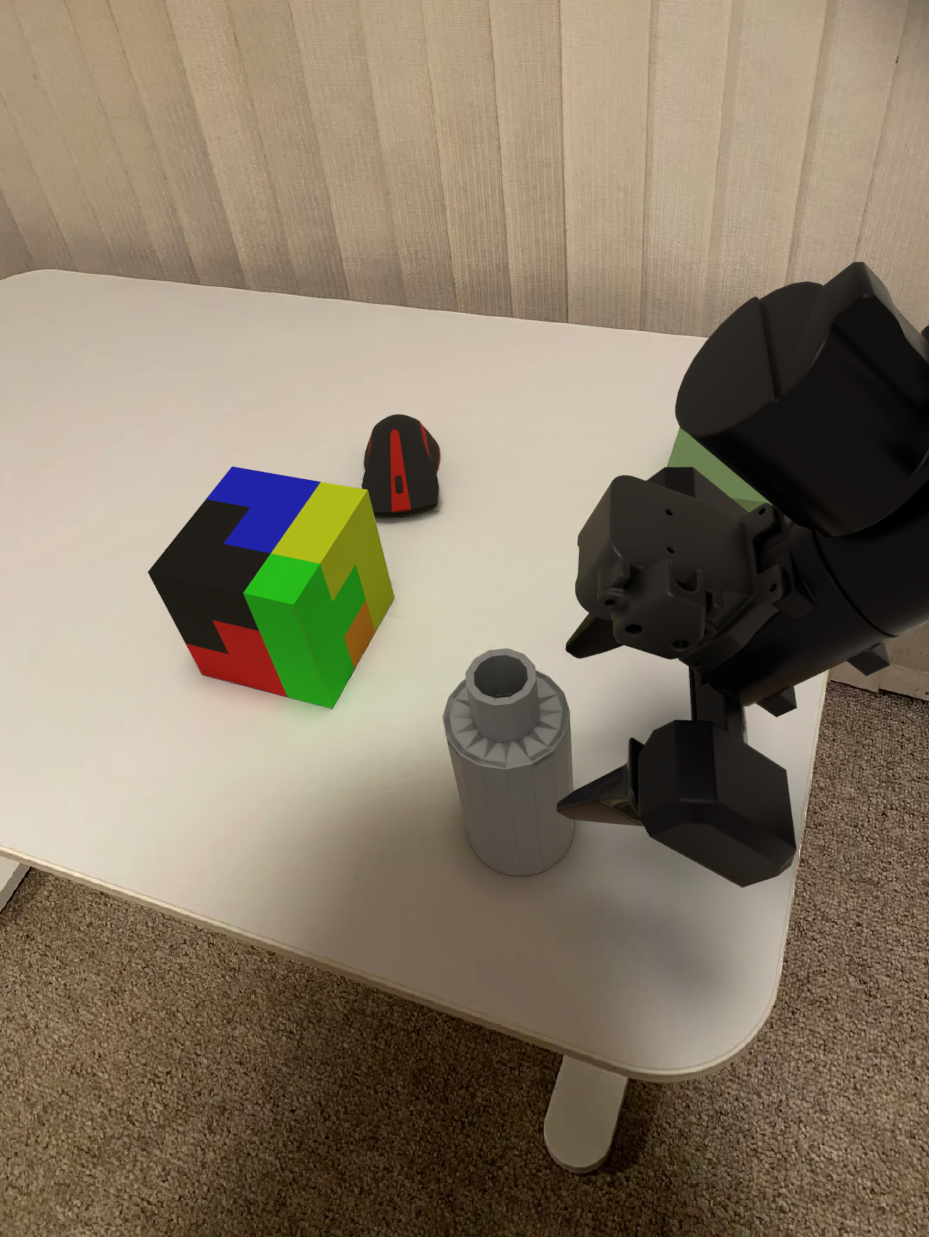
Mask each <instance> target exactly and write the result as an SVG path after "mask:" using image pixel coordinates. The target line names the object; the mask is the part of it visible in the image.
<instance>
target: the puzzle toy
mask: <svg viewBox="0 0 929 1237" xmlns="http://www.w3.org/2000/svg"><path fill="white" fill-rule="evenodd" d="M387 565H388V564H387V561H386V557H385V553H384V549H383V544H382V542H381V537H380V533H379V530H378V525H377V521H376V516H374V513H373V509H372V505H371V501H370V497H369V493H368V490H366V489H362V488H359V487H355V486H348V485H343V484H337V483H331V482H326V481H320V480H314V479H307V478H301V477H296V476H290V475H284V474H280V473H274V472H268V471H261V470H256V469H250V468H244V467H238V466H232V465H231V467H230V468H229V469H228V470H227V471H226V473H225V474H224V475H223V477H222V478H221V479H220V480H219V482H218V483H217V484H216V485H215V487H214V488H213V490H211V492H210V493H209V494H208V495H207V497H206V498H205V499H204V500H203V502H202V503H201V504H200V506H198V508H197V509H196V510H195V512H194V513H193V514H192V516H191V517H190V518H189V520H188V521H187V522H186V523H185V524H184V526H183V527H182V528H181V529H180V530H179V532H178V533H177V534H176V536H175V537H174V538H173V540H172V541H170V543H169V544H168V546H167V547H166V548H165V549H164V551H163V552H161V554H160V556H159V557H158V558H157V559H156V560H155V562H154V563H153V565H151V566H150V568H149V569H148V571H147V574H148V576H149V577H150V579H151V581H152V584H153V586H154V588H155V589H156V591H157V593H158V595H159V597H160V599H161V600H162V602H163V604H164V607H165V608H166V610H167V612H168V614H169V616H170V618H171V619H172V622H173V623H174V625H175V627H176V629H177V631H178V632H179V634H180V636H181V638H182V640H183V642H184V644H185V646H186V648H187V649H188V652H189V653H190V655H191V657H192V659H193V661H194V662H195V665H196V666H197V668H198V670H199V672H200V674H201V676H205V677H209V678H212V679H216V680H219V681H224V682H228V683H232V684H234V685H235V684H236V685H239V686H243V687H247V688H251V689H254V690H259V691H263V692H267V693H270V694H274V695H277V696H282V697H286V698H289V699H293V700H298V701H301V702H304V703H309V704H312V705H315V706H316V705H317V706H320V707H323V708H328V709H332V710H333V709H334V707H335V706H336V703H337V701H338V700H339V698H340V696H341V694H342V692H343V691H344V689H345V687H346V686H347V684H348V682H349V680H350V678H351V677H352V675H353V673H354V672H355V670H356V668H357V666H358V664H359V662H360V660H361V659H362V656H364V653H365V652H366V650H367V648H368V646H369V645H370V643H371V641H372V639H373V637H374V636H375V634H376V632H377V630H378V628H379V626H380V625H381V623H382V621H383V619H384V618H385V615H386V614H387V612H388V610H389V608H390V607H391V605H392V603H393V602H394V600H395V598H396V597H395V593H394V589H393V585H392V581H391V577H390V574H389V570H388V566H387Z"/></svg>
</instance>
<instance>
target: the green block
mask: <svg viewBox="0 0 929 1237" xmlns="http://www.w3.org/2000/svg"><path fill="white" fill-rule="evenodd" d="M674 440H675V441H674V443H673V447H672V449H671V453H670V456H669V459H668V462H667V465H666V467H694V468H695V469H696V470H697V471H699V472H700V473H701V474H702V475H704V476H705V477H706V478H707V479H708V480H710V481H711V482H712V483H713V484H715V485H716V486H717V487H718V488H719V489H721V490H722V491H723V492H724V493H726V494H727V495H728V496H729V497H731V498H732V499H733V500H734V501H735V502H737V503H738V504H739V505H740V506H742V507H743V508H744V509H745V510H746V511H748V512H751V511H752V510H754V509H755V508H757V507H758V506H760V505H762V504H764V503H769V504H770V505H772V504H771V503H770V502H769V501H768V500H766V499H765V498H764V497H763V496H762V495H760V494H759V493H758V492H757V491H756V490H754V489H753V488H752V487H751V486H750V485H748V484H747V483H746V482H745V481H744V480H742V479H741V478H740V477H739V476H738V475H736V474H735V473H734V472H733V471H732V470H730V469H729V468H728V467H727V466H726V465H724V464H723V463H722V462H721V461H720V460H718V459H717V458H716V457H715V456H714V455H712V454H711V453H710V452H709V451H708V450H706V449H705V448H704V447H703V446H702V445H700V444H699V443H698V442H697V441H696V440H694V439H693V438H692V437H691V436H690V435H688V434H687V433H686V432H685V431H684V430H682V429H681V428H680V427H679V428H678V431H677V434H676V437H675V439H674Z"/></svg>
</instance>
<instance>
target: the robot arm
mask: <svg viewBox="0 0 929 1237" xmlns="http://www.w3.org/2000/svg"><path fill="white" fill-rule="evenodd" d="M681 380H682V381H681V383H680V385H679V388H678V390H677V394H676V395H677V396H676V400H675V405H674V414H675V415H674V416H675V419H676V421H677V424H678V426H679V428H681V429H682V430H684V431H685V432H686V433H687V434H688V435H690V436H691V437H692V438H693V439H694V440H696V441H697V442H698V443H699V444H700V445H702V446H703V447H704V448H705V449H706V450H708V451H709V452H710V453H711V454H712V455H714V456H715V457H716V458H717V459H718V460H720V461H721V462H722V463H723V464H724V465H726V466H727V467H728V468H729V469H730V470H732V471H733V472H734V473H735V474H736V475H738V476H739V477H740V478H741V479H742V480H744V481H745V482H746V483H747V484H748V485H750V486H751V487H752V488H753V489H754V490H756V491H757V492H758V493H759V494H760V495H762V496H763V497H764V498H765V499H766V500H768V501H769V502H770V503H771V504H772V505H770V504H769V503H764V504H762V505H760V506H758V507H757V508H755V509H754V510H752V511H751V512H748V511H746V510H745V509H744V508H743V507H742V506H740V505H739V504H738V503H737V502H735V501H734V500H733V499H732V498H731V497H729V496H728V495H727V494H726V493H724V492H723V491H722V490H721V489H719V488H718V487H717V486H716V485H715V484H713V483H712V482H711V481H710V480H708V479H707V478H706V477H705V476H704V475H702V474H701V473H700V472H699V471H697V470H696V469H695V468H694V467H667V466H664V467H663V468H660V470H659V471H657V472H656V473H655V474H653V475H652V476H650V477H649V478H647V479H646V480H645V479H642V478H640V477H637V476H634V475H629V474H621V475H617V476H616V477H614V478H613V479H612V480H611V482H610V483H609V485H608V486H607V488H606V490H605V491H604V492H603V494H602V496H601V498H600V499H599V501H598V502H597V504H596V505H595V507H594V509H593V510H592V512H591V514H590V515H589V517H588V519H587V520H586V522H585V523H584V525H583V526H582V528H581V529H580V531H579V533H578V535H577V544H576V546H577V547H578V561H577V576H576V579H575V582H574V583H575V585H574V594H575V595H574V596H575V597H576V600H577V602H578V603H579V605H580V607H581V608H582V609H583V610H584V611H586V613H587V614H586V616H585V617H584V619H583V620H582V621H581V623H580V624H579V625H578V627H577V628H576V629H575V631H574V632H573V633H572V634H571V636H570V637H569V638H568V640H567V641H566V642H565V646H564V647H565V648H564V649H565V652H566V653H568V654H569V655H570V656H572V657H574V658H576V659H577V660H578V659H579V660H582V659H587V658H589V657H593V656H597V655H601V654H604V653H607V652H611V651H614V650H616V649H619V648H621V647H623V646H624V647H628V648H631V649H634V650H637V651H641V652H643V653H646V654H650V655H653V656H655V657H656V656H657V657H659V658H661V659H665V660H668V661H669V660H677V659H678V661H680V662H681V663H682V664H684V665H685V666H687V667H688V682H689V683H688V684H689V685H688V686H689V700H690V718H691V719H673V720H672V721H669V722H667V723H665V724H662V725H661V726H659V727H657V728H655V729H653V730H652V732H651V733H650V735H649V736H648V739H647V740H646V742H645V743H643V742H641V741H640V740H638V739H637V738H635V737H633V736H631V737H630V738H628V742H627V758H626V759H627V760H626V763H625V764H623V765H621V766H619V767H617V768H615V769H614V770H611V771H609V772H608V773H605V774H604V775H601V776H600V777H598V778H596V779H593V780H592V781H590V782H588V783H586V784H584V785H582V786H580V787H578V788H577V789H575V790H573V792H572V793H570V794H569V795H567V796H566V797H565V798H563V799H562V800H560V801H559V802H558V803H557V809H556V810H557V812H558V813H560V814H562V815H563V816H565V817H567V818H569V819H572V820H575V821H580V822H590V823H600V824H612V825H620V826H622V825H623V826H633V827H644V829H645V832H646V833H647V835H648V837H649V838H651V839H652V840H654V841H655V842H658V843H659V844H661V845H663V846H665V847H666V848H668V849H671V850H673V851H674V852H676V853H678V854H680V855H682V856H684V857H685V858H687V859H689V860H690V861H692V862H694V863H696V864H698V865H699V866H701V867H703V868H705V869H707V870H708V871H711V872H713V873H714V874H716V875H718V876H720V877H722V878H723V879H725V880H727V881H729V882H731V883H732V884H734V885H737V886H738V887H740V888H742V889H743V888H746V887H750V886H752V885H755V884H758V883H761V882H764V881H768V880H770V879H774V878H777V877H779V876H780V875H781V874H783V873H784V872H785V871H787V870H788V869H789V868H790V867H791V866H792V864H793V862H794V859H795V855H796V853H797V851H798V850H797V848H798V847H797V841H796V840H797V839H796V833H795V825H794V817H793V811H792V801H791V794H790V787H789V779H788V772H787V769H786V768H784V767H783V766H781V765H780V764H779V763H778V762H777V763H776V762H775V761H774V760H772V759H771V758H769V757H768V756H766V755H764V754H763V753H762V752H760V751H758V750H757V749H756V748H754V747H752V746H750V744H749V737H748V728H747V717H746V716H747V715H746V708H745V707H747V708H748V707H751V706H754V705H755V704H756V705H757V706H758V707H760V708H762V709H763V710H764V711H766V712H767V713H769V714H771V715H772V716H773V717H775V718H776V719H777V718H778V717H781V716H783V715H785V714H788V713H789V712H792V711H794V710H796V709H798V703H797V696H796V691H795V687H796V686H797V685H799V684H801V683H804V682H806V681H808V680H810V679H812V678H815V677H816V676H819V675H820V674H822V673H825V672H827V671H829V670H831V669H833V668H835V667H837V666H839V665H841V664H843V663H846V662H847V663H848V664H850V665H851V666H852V667H854V668H855V669H856V670H857V671H859V672H860V673H861V674H863V675H864V676H865V677H868V676H870V675H873V674H875V673H877V672H879V671H881V670H883V669H885V668H887V667H889V666H891V662H890V658H889V653H888V649H887V648H888V647H887V644H886V643H888V642H890V641H892V640H894V639H896V638H898V637H900V636H901V635H904V634H906V633H908V632H910V631H912V630H914V629H916V628H917V629H918V628H919V627H921V626H923V625H925V624H928V623H929V324H928V325H926V326H925V327H924V328H923V329H922V330H921V331H920V332H919V331H918V330H917V329H916V328H915V327H914V325H913V324H912V323H911V322H910V321H909V320H908V319H907V318H906V317H905V316H904V314H902V313H901V312H900V310H899V309H898V307H897V306H896V305H895V303H894V301H893V298H892V296H891V294H890V291H889V290H888V287H887V286H886V285H885V284H884V282H883V281H882V280H881V279H880V277H878V275H877V274H875V272H874V271H873V270H872V269H871V268H870V267H869V266H868V264H866V262H864V261H853V262H851V263H850V264H848V265H847V266H846V267H845V268H844V269H842V270H841V271H840V272H838V273H837V274H836V275H835V276H833V277H832V278H831V279H830V280H828V281H827V282H826V283H824V284H823V283H819V282H814V281H809V280H806V281H800V282H793V283H789V284H787V285H785V286H782V287H780V288H777V289H775V290H773V291H771V292H769V293H768V294H766V295H764V296H763V297H760V298H759V297H758V296H753V297H751V298H749V299H748V300H747V301H746V302H744V303H742V304H741V305H740V306H739V307H737V308H736V309H735V310H734V311H733V312H732V313H730V314H729V316H728V317H727V318H725V319H724V321H722V322H721V324H720V325H719V326H717V328H716V329H715V330H714V331H713V332H712V334H711V335H710V336H709V337H708V338H707V339H706V340H705V342H704V343H703V345H702V346H701V347H700V348H699V350H698V351H697V353H696V354H695V356H694V357H693V359H692V360H691V362H690V364H689V366H688V368H687V370H686V371H685V373H684V375H683V377H682V379H681Z"/></svg>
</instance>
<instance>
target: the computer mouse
mask: <svg viewBox="0 0 929 1237" xmlns="http://www.w3.org/2000/svg"><path fill="white" fill-rule="evenodd" d="M440 461H441V448H440V445H439V444H438V441H437V440H436V439H435V437H433V435H432V434H431V433H430V431H429V430H428V429H427V428H426V427H425V425H424V424H423V423H422V422H421V421H420V420H419V419H418V418H415V417H412V416H410V415H406V414H403V413H402V414H400V413H395V414H391V415H388V416H386V417H385V418H383V419H381V420H380V421H378V422H377V423H376V424H375V425H374V426H373V428H372V430H371V433H370V436H369V438H368V442H367V444H366V447H365V451H364V456H363V469H364V473H363V477H362V482H361V489H366V490H368V493H369V497H370V501H371V505H372V509H373V513H374V517H377V518H379V517H380V518H398V517H407V516H413V515H418V514H420V513H425V512H427V511H431V510H434V509H435V508H436V507H437V506H438V502H439V496H440V495H439V494H440V485H439V478H438V474H437V472H438V469H439V466H440Z"/></svg>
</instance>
